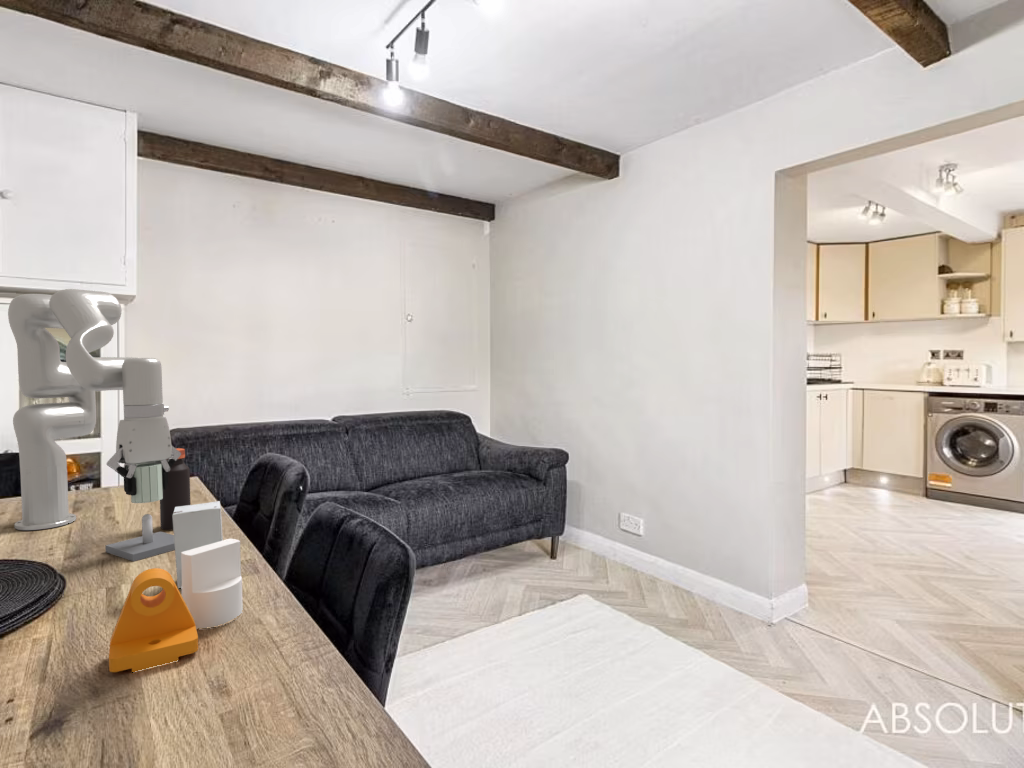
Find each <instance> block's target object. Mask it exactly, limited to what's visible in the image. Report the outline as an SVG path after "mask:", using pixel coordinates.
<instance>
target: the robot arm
mask: <svg viewBox="0 0 1024 768" xmlns="http://www.w3.org/2000/svg"><path fill="white" fill-rule="evenodd" d="M7 316H8V323H9V326H10V329H11V332H12V334H13V337H14V339H15V343H16V349H17V371H18V384H19V389H20V393H22V395H23V396H24V397H27V398H29V399H55V398H57V399H59V398H68V400H69V402H50V403H49V402H47V403H46V402H45V403H35V404H28V405H25V406H22V407H21V408H19V409H18V410H16V412H15V413H14V414H13V417H12V424H13V430H14V432H15V433H14V434H15V438H16V440H17V445H18V447H17V448H18V456H19V457H18V458H19V472H20V474H19V475H20V494H21V495H20V496H21V498H20V499H21V517H22V518H21V519H20V520H18V521H16V522H15V523H14V529H16V530H19V531H39V530H46V529H51V528H57V527H58V528H59V527H61V526H65V525H69V524H71V523H73V521H74V522H75V521H76V520H77V515H76V514H75V513H70V512H69V511H70V510H69V487H68V464H67V463H68V462H67V461H68V459H67V455H66V452H65V451H64V450H63V448H62V447H61V446H60V445H59V444H58V443H57V441H55V440H60V439H67V438H77V437H82V436H83V437H84V436H88V435H90V434H91V433H92V432H93V431H94V430H95V428H96V424H97V406H96V405H97V402H96V401H97V399H96V392H103V391H104V392H105V391H122V396H123V397H122V398H123V399H122V401H123V419H119V423H118V427H117V432H116V441H115V442H116V443H115V453H114V454H113V455H112V456H111V457H110V458H109V460H107V462H106V465H107V466H108V467H109V468H110V469H112V470H113V471H114V472H116V473H117V474H119V476H121V477H123V489H124V490H123V491H124V492H125V494H126V495H128V496H131V495H132V496H133V495H136V478H135V477H133V474H134V471H135V468H136V466H137V464H143V463H162V486H163V489H164V490H165V489H167V484H168V471H170V468H171V467H172V465H173V464H174V463H175V461H176V460H177V459H178V458H179V457H180V456H181V453H180V452H179V451H178V450H177V449H176V447H174V445H173V444H172V439H171V438H172V437H171V431H170V427H169V423H168V420H167V417H166V416H164V415H165V412H169V409H170V408H169V406H168V405H165V404H164V402H163V401H164V398H163V372H162V370H163V369H162V368H163V367H162V362H161V361H160V359H158V358H154V357H132V356H131V357H129V356H127V357H126V356H125V357H122V356H121V357H120V356H119V357H114V356H112V357H111V356H109V357H108V356H107V357H105V356H104V357H103V356H102V357H101V356H100V357H98V356H97V357H94V356H92V354H91V353H92V352H95V351H97V350H100V349H102V348H103V347H105V346H107V345H108V344H109V343H110V342H111V341H112V339H113V337H114V334H115V332H114V328H113V325H115V324H116V323H118V322H119V321H120V319H121V317H122V306H121V303H120V301H119V299H118V298H117V297H116V296H115V295H113V294H111V293H109V292H106V291H98V290H97V291H96V290H90V289H87V290H86V289H80V288H79V289H78V288H77V289H76V288H68V289H61V290H58V291H56V292H55V293H53V294H46V293H45V294H44V293H25V294H20V295H17V296H15V297H13V299H11V301H10V303H9V305H8V311H7ZM48 328H49V329H63V330H64V331H65V332H66V334H67V335H68V336H69V338H70V340H69V341H68V343H67V345H66V349H65V361H61V357H60V351H61V350H60V344H59V341H58V340H57V339H56V337H55V336H54V335H53V334H52V333H51V332H50V331H49V330H48ZM168 458H169V459H168ZM166 459H167V460H166ZM120 464H124V465H123V466H121V465H120ZM68 523H69V524H68Z"/></svg>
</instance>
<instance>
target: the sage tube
mask: <svg viewBox="0 0 1024 768" xmlns="http://www.w3.org/2000/svg"><path fill="white" fill-rule="evenodd" d="M133 477H135V478H136V495H133V496H132V495H130V500H131V503H133V504H147V503H154V502H160V500H161V499H163V486H162V463H155V462H149V463H143V464H137V466H136V468H135V471H134V474H133Z"/></svg>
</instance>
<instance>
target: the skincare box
mask: <svg viewBox="0 0 1024 768" xmlns="http://www.w3.org/2000/svg"><path fill="white" fill-rule="evenodd" d="M172 518H173V530H172V531H173V535H174V544H175V550H174V554H175V558H174V559H175V568H176V582H177V584H176V586H177V588H178V590H180V589H179V588H181V587H182V570H181V552H184V551H187V550H191V549H194V548H198V547H201V546H205V545H209V544H212V543H216V542H219V541H223V540H224V539H223V519H222V518H223V517H222V508H221V501H220V500H218V501H211V502H205V503H204V502H203V503H197V504H191V505H187V506H179V507H175V509H174V512H173V515H172Z"/></svg>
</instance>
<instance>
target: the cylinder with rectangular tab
mask: <svg viewBox="0 0 1024 768" xmlns="http://www.w3.org/2000/svg"><path fill="white" fill-rule="evenodd" d="M241 563H242V562H241V540H239V539H235V538H227V539H223V541H219V542H216V543H212V544H209V545H205V546H201V547H198V548H194V549H191V550H187V551H184V552H181V570H182V587H181V589H180V590H181V595H182V597H183V599H184V601H185V603H186V605H187V607H188V609H189V611H190V613H191V615H192V617H193V619H194V621H195V626H196V628H207V627H214V626H218V625H220V624H224V623H226V622H228V621H230V620H232V619H234V618H236V617H237V616H239V615H240V614H241V613H242V614H243V612H242V610H243V607H244V606H243V577H242V568H241V567H242V564H241Z"/></svg>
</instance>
